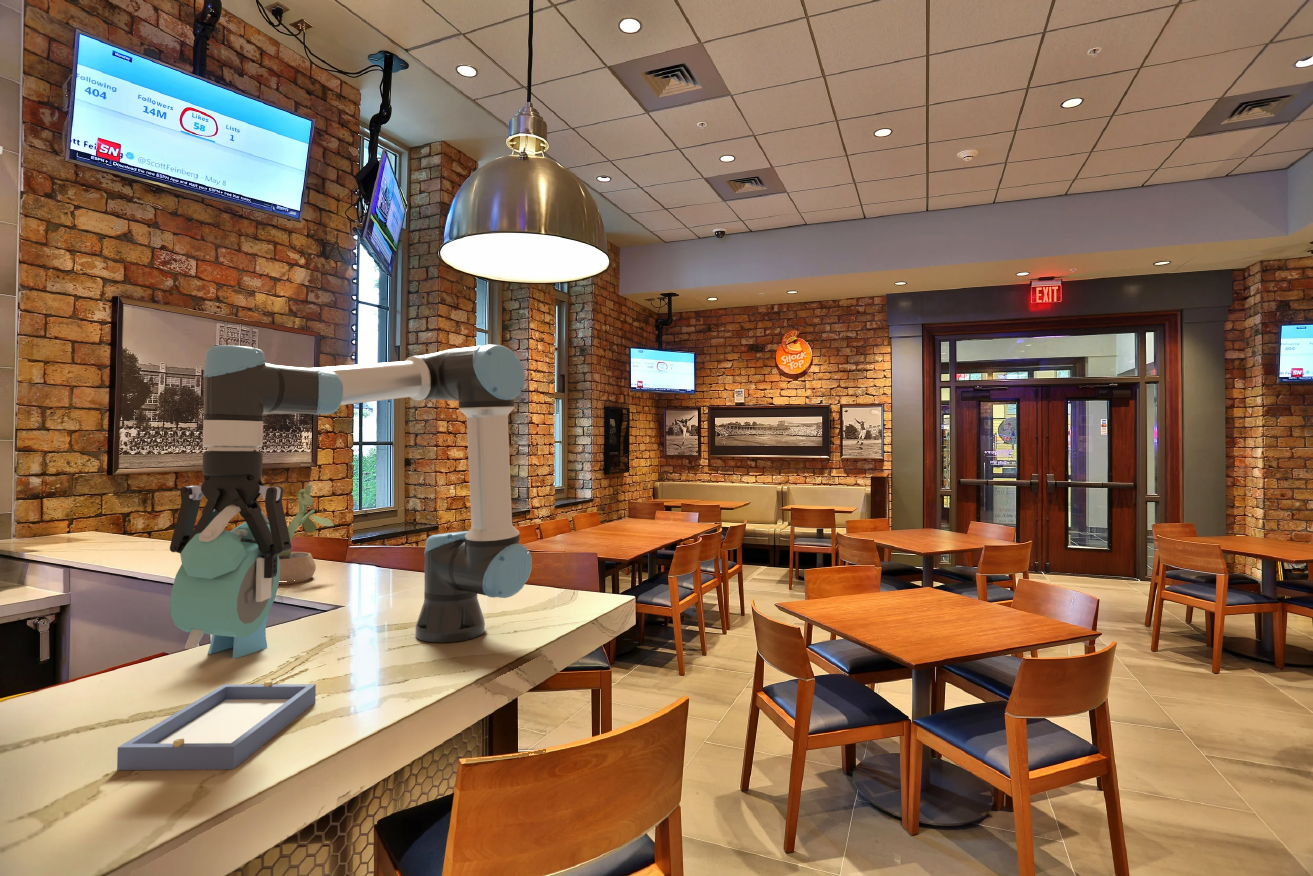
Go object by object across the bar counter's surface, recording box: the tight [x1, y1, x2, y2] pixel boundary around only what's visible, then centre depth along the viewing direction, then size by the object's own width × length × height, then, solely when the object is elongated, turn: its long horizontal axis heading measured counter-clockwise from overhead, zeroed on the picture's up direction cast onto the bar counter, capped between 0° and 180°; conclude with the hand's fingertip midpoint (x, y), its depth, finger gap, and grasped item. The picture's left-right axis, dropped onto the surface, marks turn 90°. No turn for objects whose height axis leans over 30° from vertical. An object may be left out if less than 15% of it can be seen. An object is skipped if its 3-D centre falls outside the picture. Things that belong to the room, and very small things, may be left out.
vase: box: [207, 614, 269, 659], centre depth 133 cm, size 8×8×20 cm
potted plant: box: [278, 484, 336, 585], centre depth 199 cm, size 22×18×30 cm
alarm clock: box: [169, 504, 280, 650], centre depth 96 cm, size 17×10×20 cm, turn 5°
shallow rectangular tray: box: [116, 680, 317, 771], centre depth 95 cm, size 15×22×4 cm
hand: (230, 599), depth 96 cm, fingers closed on alarm clock, 9 cm apart
